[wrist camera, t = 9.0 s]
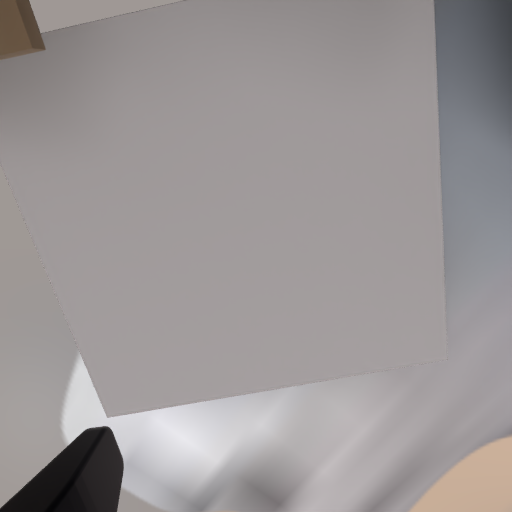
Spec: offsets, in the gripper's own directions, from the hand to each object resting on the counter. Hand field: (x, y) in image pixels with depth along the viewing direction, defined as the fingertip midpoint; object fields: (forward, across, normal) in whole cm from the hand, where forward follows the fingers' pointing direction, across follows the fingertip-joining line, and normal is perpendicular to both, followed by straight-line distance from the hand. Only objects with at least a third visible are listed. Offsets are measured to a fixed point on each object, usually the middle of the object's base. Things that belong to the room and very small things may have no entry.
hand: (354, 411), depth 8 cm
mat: (+12, +3, 0) cm, 12 cm away
